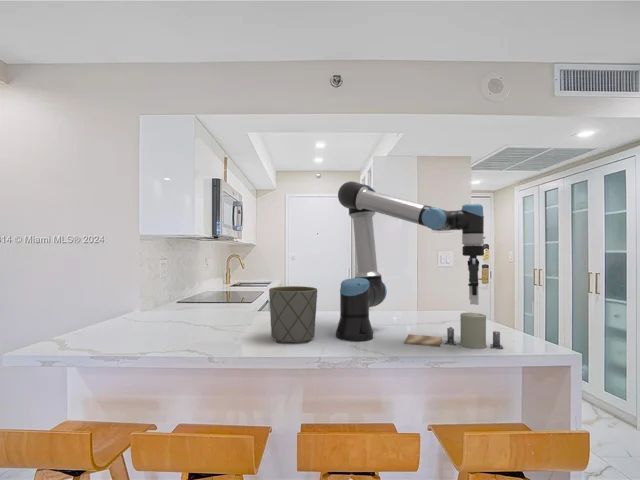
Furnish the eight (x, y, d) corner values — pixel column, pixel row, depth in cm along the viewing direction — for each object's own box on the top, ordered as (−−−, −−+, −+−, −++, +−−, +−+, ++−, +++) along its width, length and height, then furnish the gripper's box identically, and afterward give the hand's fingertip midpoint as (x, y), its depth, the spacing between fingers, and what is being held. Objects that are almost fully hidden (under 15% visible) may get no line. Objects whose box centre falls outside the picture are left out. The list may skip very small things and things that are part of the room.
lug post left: (444, 344, 146) (444, 329, 146) (445, 341, 151) (445, 326, 151) (456, 345, 145) (456, 330, 145) (456, 341, 150) (456, 327, 150)
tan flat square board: (404, 343, 147) (404, 341, 147) (408, 336, 159) (408, 334, 159) (440, 346, 143) (440, 344, 143) (441, 338, 155) (441, 336, 155)
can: (489, 349, 139) (488, 316, 140) (462, 347, 141) (462, 315, 141) (483, 343, 148) (483, 311, 149) (458, 341, 150) (458, 310, 150)
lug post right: (491, 349, 140) (491, 333, 140) (490, 345, 145) (490, 330, 145) (503, 350, 138) (503, 334, 139) (501, 346, 143) (501, 331, 143)
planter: (318, 344, 145) (318, 291, 145) (267, 345, 143) (267, 291, 144) (315, 333, 164) (315, 286, 164) (270, 333, 162) (270, 286, 163)
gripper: (486, 245, 132) (486, 307, 132) (481, 245, 156) (482, 298, 155) (462, 245, 135) (463, 306, 135) (462, 245, 158) (462, 297, 158)
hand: (473, 302), depth 145 cm, fingers open, 13 cm apart
